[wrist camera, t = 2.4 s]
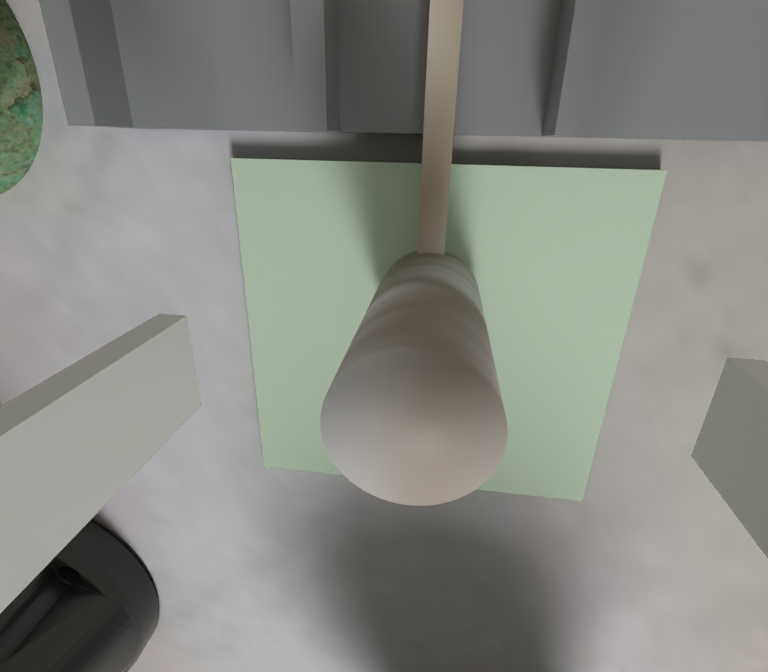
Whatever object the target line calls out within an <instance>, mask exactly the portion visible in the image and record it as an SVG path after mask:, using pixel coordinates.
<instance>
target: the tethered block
mask: <svg viewBox="0 0 768 672" xmlns="http://www.w3.org/2000/svg"><path fill="white" fill-rule="evenodd" d="M463 3H464V0H430V11H429V31H428V50H427V70H426V89H425V109H424V128H423V148H422V168H421V187H420V207H419V226H418V246H417V251H414V252H411V253H409V254H406V255H404V256H402V257H401V258H399V259H398V260H397V261H395V262H394V263H393V264H392V265H391V266H390V267H389V268H388V270H387V271H386V273H385V274H384V276H383V278H382V280H381V282H380V284H379V286H378V288H377V290H376V293H375V295H374V297H373V299H372V301H371V303H370V305H369V307H368V309H367V311H366V313H365V315H364V317H363V319H362V321H361V323H360V326H359V328H358V330H357V332H356V334H355V336H354V338H353V340H352V342H351V344H350V346H349V348H348V350H347V352H346V354H345V357H344V359H343V361H342V363H341V365H340V367H339V369H338V371H337V373H336V375H335V377H334V379H333V381H332V383H331V385H330V387H329V390H328V392H327V394H326V396H325V399H324V402H323V404H322V409H321V414H320V428H321V435H322V439H323V443H324V446H325V448H326V450H327V453H328V455H329V456H330V458H331V460H332V461H333V463H334V464H335V466H336V467H337V468H338V469H339V471H340V472H341V473H342V474H343V475H344V476H345V477H346V478H347V479H348V480H350V481H351V482H352V483H353V484H355V485H356V486H357V487H359V488H360V489H362V490H364V491H365V492H367V493H369V494H371V495H373V496H375V497H378V498H381V499H383V500H386V501H390V502H393V503H398V504H404V505H414V506H426V505H436V504H442V503H446V502H450V501H453V500H456V499H459V498H461V497H463V496H465V495H467V494H469V493H471V492H473V491H474V490H476V489H477V488H479V487H480V486H481V485H482V484H483V483H485V482H486V481H487V480H488V479H489V478H490V477H491V475H492V474H493V473H494V472H495V470H496V469H497V467H498V466H499V464H500V462H501V460H502V458H503V455H504V453H505V449H506V445H507V437H508V428H507V419H506V414H505V410H504V405H503V400H502V396H501V391H500V386H499V382H498V377H497V372H496V368H495V363H494V358H493V354H492V349H491V344H490V340H489V335H488V330H487V326H486V321H485V316H484V312H483V307H482V302H481V298H480V293H479V288H478V284H477V282H476V279H475V277H474V275H473V273H472V272H471V270H470V269H469V268H468V267H467V266H466V265H465V264H464V263H463V262H462V261H461V260H460V259H458V258H457V257H455V256H453V255H451V254H449V253H446V252H445V240H446V227H447V214H448V201H449V188H450V174H451V161H452V148H453V135H454V121H455V108H456V95H457V82H458V69H459V55H460V42H461V29H462V16H463Z"/></svg>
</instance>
